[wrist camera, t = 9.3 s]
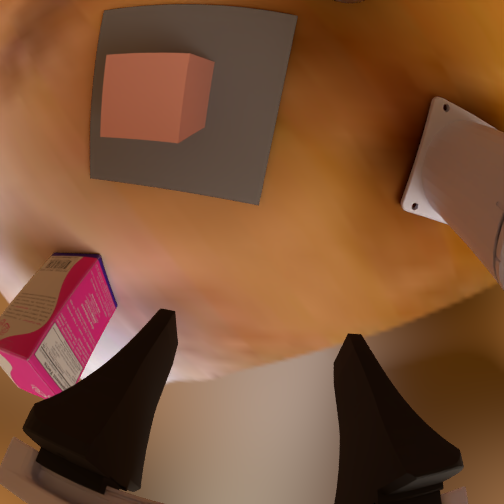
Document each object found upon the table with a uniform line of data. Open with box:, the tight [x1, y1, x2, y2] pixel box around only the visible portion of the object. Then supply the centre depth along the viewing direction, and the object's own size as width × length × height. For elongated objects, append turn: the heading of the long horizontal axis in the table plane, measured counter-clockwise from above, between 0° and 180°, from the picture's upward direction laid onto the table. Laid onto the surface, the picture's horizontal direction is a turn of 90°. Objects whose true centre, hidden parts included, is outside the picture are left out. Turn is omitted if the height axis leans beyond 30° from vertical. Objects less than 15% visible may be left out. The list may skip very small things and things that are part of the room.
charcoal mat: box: [90, 4, 298, 205], centre depth 15 cm, size 12×12×1 cm
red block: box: [100, 53, 215, 143], centre depth 13 cm, size 4×4×5 cm
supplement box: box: [0, 253, 117, 399], centre depth 19 cm, size 6×6×12 cm
